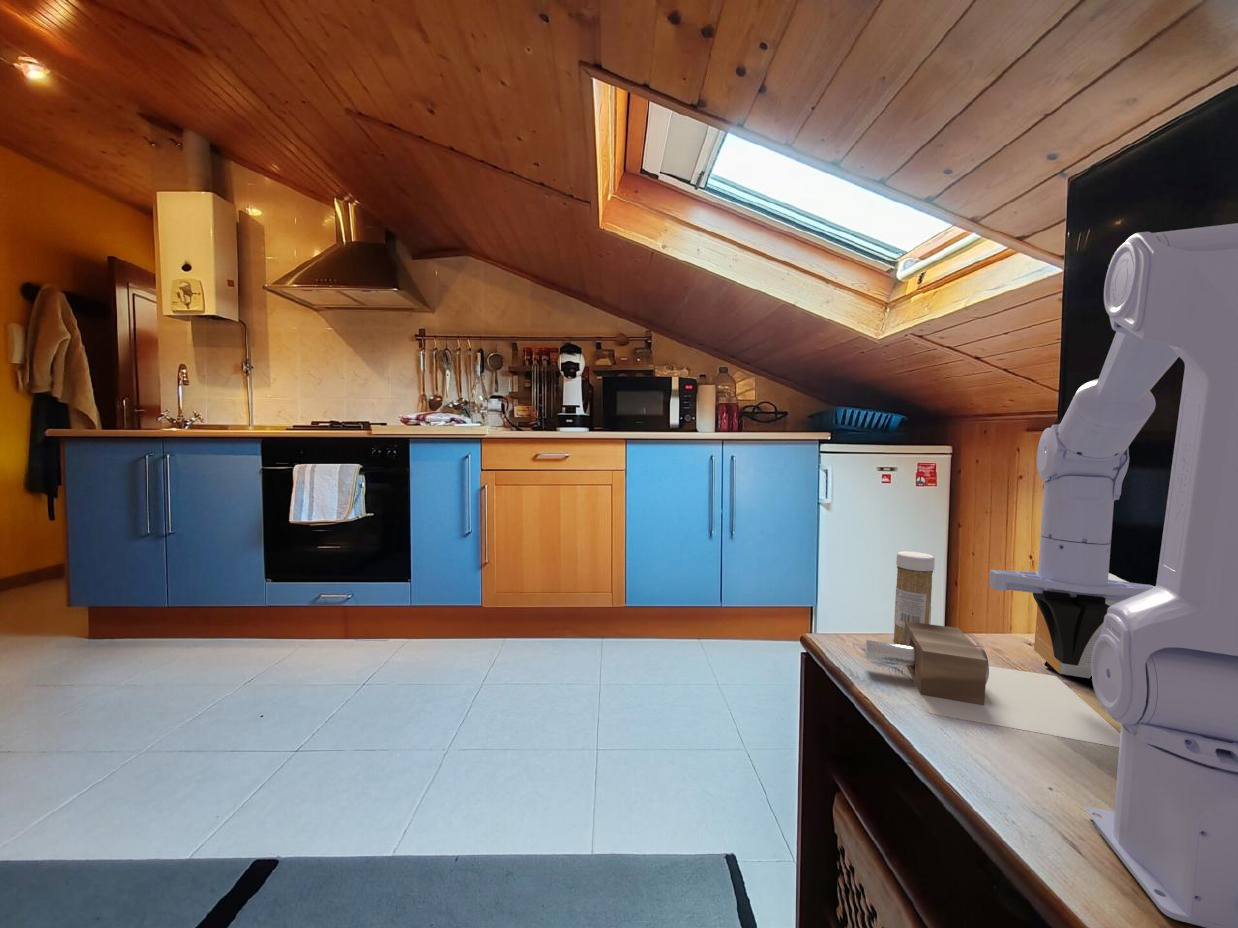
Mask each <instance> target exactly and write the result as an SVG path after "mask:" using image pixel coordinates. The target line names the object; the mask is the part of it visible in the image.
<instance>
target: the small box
mask: <svg viewBox="0 0 1238 928" xmlns="http://www.w3.org/2000/svg"><path fill="white" fill-rule="evenodd" d="M1108 580H1115V581H1122V582H1128V581H1127V580H1126V579H1122V578H1120V577H1118V576H1117V575H1114V574H1112V573H1110V572H1109V574H1108ZM1056 590H1059V589H1056ZM1116 603H1118V602H1116V601H1107V600H1105V604H1107V605H1109V606H1112V605H1114V604H1116ZM1036 605H1037V606H1036V619H1035V620H1036V621H1035V631H1034V633H1035V634H1034V647H1033V650H1034V652H1036V653H1037V654H1038V655H1040V657H1042V659H1044V660H1045V661H1046V662H1047V664H1049V665H1050V666H1051V668H1053V669H1054V670H1055V671H1056V672H1057V673H1058V674H1061V675H1065V676H1073V677H1077V678H1078V677H1079V678H1086V679H1090V677H1091V676H1092V674H1091V657H1092V651H1093V647H1094V644H1095V642H1096V640H1097V639H1098V638H1099V636H1100V633H1101V630H1102V626H1103V623H1102V624H1101V626H1100V627H1099V628H1098V629H1097V630H1096V631H1095V633H1094V634H1093V635H1092V637H1091V638H1090V640H1089V642H1088V644H1087V645H1086V647H1085V649H1084V652H1083V654H1082V656H1081V659H1080V661H1079V664H1078V666H1076V665H1069V664H1063V663H1061V662H1060V661H1059V660H1057V659H1056V658H1055V657H1054V651H1053V646H1052V641H1051V637H1050V633H1049V630H1048V627H1047V624H1046V622H1045V619H1044V617H1043V615H1042V612H1041V610H1040V608H1039V606H1038V604H1037V603H1036Z"/></svg>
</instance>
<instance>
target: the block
mask: <svg viewBox="0 0 1238 928" xmlns="http://www.w3.org/2000/svg"><path fill="white" fill-rule="evenodd" d="M904 645H906V646H913V647H916V662H915V666H912V665H905V666H907V667H906V668H908V669H907V671H908V670H909V671H908V673H909V672H910V673H909V674H911V675H910V676H912V677H911V679H912V678H913V679H912V681H913V680H914V681H913V683H914V682H915V683H914V684H916V685H915V687H916V686H917V687H916V689H917V688H918V689H917V691H918V690H919V691H918V693H919V692H920V693H919V695H920V694H921V695H925V696H931V697H937V698H943V699H949V700H954V701H960V702H966V703H972V704H978V705H983V706H984V701H985V686H986V671H987V659H986V658H985V657H984V656H983V655H982V654H981V653H980V652H979V650H978V649H977V648H978V647H976V646H975V645H974V643H973V642H972V641H971V640H970V639H969V638H968V637H967V636H966V634H965V633H964V632H963V631H962V630H961V628H959V627H952V626H945V625H937V624H931V623H930V624H923V623H916V622H908V621H905V630H904ZM921 695H920V696H921Z"/></svg>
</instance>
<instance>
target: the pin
mask: <svg viewBox="0 0 1238 928" xmlns="http://www.w3.org/2000/svg"><path fill="white" fill-rule="evenodd" d="M976 648H977V649H978V650H979V652H980V653H981V654H982V655H983V656H984V657H985V658H986V659H987V671H986V683H987V681H988V677H989V666H990V665H989V659H988V655H987V653H986V651H985V649H984V648H981V647H976ZM864 649H865V650H864V653H865V654H864V655H865V658H866V659H869V660H874V661H880V662H887V663H894V664H900V665H905V664H906V665H912V666H915V662H916V647H913V646H906V645H899V644H895V643H893V642H885V641H879V640H878V641H877V640H869V639H866V640H865V646H864ZM906 665H905V666H906Z"/></svg>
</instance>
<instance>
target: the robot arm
mask: <svg viewBox="0 0 1238 928" xmlns="http://www.w3.org/2000/svg"><path fill="white" fill-rule="evenodd" d="M1103 304H1104V308H1105V311H1106V313H1107V315H1108V317H1109V321H1110V326H1111V329H1112V330H1113V331H1114V332H1115V334H1114V337H1113V339H1112V343H1111V345H1110V347H1109V350H1108V353H1107V356H1106V358H1105V361H1104V363H1103V366H1102V369H1101V372H1100V374H1099V377H1098V378H1096V379H1093V380H1090V381H1088V382H1085V383H1083V384H1082V385H1081V386H1080V387H1079V388H1078V389H1077V390H1076V392H1075V394H1074V395H1073V397H1072V400H1071V401H1070V404H1069V405H1068V408H1067V410H1066V412H1065V414H1064V416H1063V418H1062V420H1061V422H1060V423H1058V424H1052V425H1051V427H1047V428H1045V429H1044V430H1043V432H1042V433H1041V435H1040V439H1039V441H1038V442H1039V443H1038V446H1037V447H1038V448H1037V453H1036V462H1037V463H1036V464H1037V465H1036V466H1037V472H1038V477H1039V478H1040V479H1041V480H1042V481H1043V491H1042V494H1043V495H1042V506H1041V507H1042V509H1041V519H1040V520H1041V521H1040V535H1039V536H1040V537H1039V538H1040V539H1039V554H1038V555H1039V556H1038V570H1037V571H1024V570H1021V571H1019V570H999V569H990V570H989V584H988V585H989V587H991V588H992V589H994V590H995V591H1001V592H1006V591H1013V592H1025V593H1032V596H1033V598H1034V601H1035V602H1036V605H1037V604H1038V606H1039V608H1040V610H1041V612H1042V615H1043V617H1044V619H1045V622H1046V624H1047V627H1048V630H1049V633H1050V637H1051V641H1052V646H1053V651H1054V657H1055V658H1056V659H1057V660H1059V661H1060V662H1061V663H1063V664H1069V665H1076V666H1078V664H1079V661H1080V659H1081V656H1082V654H1083V652H1084V649H1085V647H1086V645H1087V644H1088V642H1089V640H1090V638H1091V637H1092V635H1093V634H1094V633H1095V631H1096V630H1097V629H1098V628H1099V627H1100V626H1101V624H1102V623H1103V626H1102V630H1101V633H1100V636H1099V638H1098V639H1097V640H1096V642H1095V644H1094V647H1093V651H1092V657H1091V674H1092V679H1091V681H1092V686H1093V691H1094V693H1095V696H1096V699H1097V701H1098V703H1099V705H1100V706H1101V708H1102V709H1103V710H1104V711H1105V712H1106V713H1107V714H1108V715H1109V717H1110V718H1112V720H1113V721H1115V722H1116V723H1120V732H1119V733H1120V744H1119V748H1118V758H1117V761H1118V762H1117V771H1116V774H1117V775H1116V783H1115V797H1114V809H1113V811H1111V810H1107V809H1103V808H1102V809H1101V808H1097V807H1092V806H1085V807H1084V810H1085V811H1086V812H1087V814H1088V815H1089V817H1090V818H1089V821H1090V822H1091V823H1092V825H1093V826H1094V827H1095V828H1096V830H1097V831H1098V833H1099V834H1100V835H1101V836H1102V837H1103V838H1104V840H1105V841H1106V842H1107V844H1108V845H1109V847H1110V848H1111V849H1112V851H1113V852H1114V853H1115V854H1116V855H1117V856H1118V858H1119V859H1120V860H1121V862H1122V863H1123V864H1124V865H1125V867H1126V868H1127V869H1128V871H1129V872H1130V873H1131V874H1132V876H1133V877H1134V878H1135V880H1136V881H1137V883H1139V885H1140V886H1141V888H1143V890H1144V891H1145V893H1146V894H1147V895H1148V896H1149V898H1150V899H1151V900H1152V901H1153V903H1154V904H1155V905H1156V907H1157V908H1158V909H1159V911H1161V913H1163V915H1165V916H1167V917H1169V918H1171V919H1173V920H1176V921H1179V922H1183V923H1187V924H1191V925H1195V926H1199V927H1201V928H1238V222H1237V223H1229V224H1221V225H1211V226H1203V227H1194V228H1193V227H1192V228H1186V229H1185V228H1183V229H1176V230H1168V231H1160V232H1159V231H1158V232H1150V231H1143V232H1142V231H1141V232H1136V233H1133V234H1132V235H1131V236H1129V237H1128V238H1127V239H1126V240H1125V242H1123V243H1122V244H1121V245H1120V246H1118V248H1117V249H1116V251H1115V252H1114V254H1113V255H1112V257H1111V260H1110V263H1109V264H1108V269H1107V272H1106V276H1105V280H1104V287H1103ZM1178 358H1180V359H1181V360H1182V362H1183V363H1184V370H1183V371H1184V373H1183V380H1182V386H1181V394H1180V403H1179V410H1178V419H1177V425H1176V432H1175V440H1174V441H1175V442H1174V448H1173V455H1172V463H1171V468H1170V469H1171V470H1170V478H1169V484H1168V485H1169V486H1168V492H1167V493H1168V494H1167V499H1166V507H1165V508H1166V509H1165V515H1164V522H1163V523H1164V524H1163V531H1162V536H1161V538H1162V539H1161V546H1160V553H1159V562H1158V567H1157V568H1158V569H1157V577H1156V583H1155V586H1154V585H1151V584H1145V583H1144V584H1143V583H1136V582H1129V581H1127V582H1122V581H1115V580H1108V574H1109V573H1110V561H1111V560H1110V559H1111V556H1110V555H1111V545H1112V532H1113V519H1114V518H1113V517H1114V505H1115V504H1114V503H1115V501H1117V500H1118V501H1119V500H1120V496H1121V495H1122V485H1123V482H1124V478H1125V476H1126V474H1127V472H1128V469H1129V465H1130V464H1129V463H1130V453H1129V451H1130V450H1129V447H1130V445H1131V443H1132V442H1133V441H1134V440H1135V438H1136V437H1137V435H1138V434H1139V433H1140V431H1141V429H1142V428H1143V427H1144V426H1145V424H1146V423H1147V421H1148V420H1149V418H1150V417H1151V416H1152V414H1153V413H1154V412H1155V409H1156V403H1157V402H1156V398H1155V396H1154V394H1153V393H1152V392H1151V390H1152V389H1153V388H1154V386H1155V385H1156V384H1157V383H1158V382H1159V380H1160V379H1161V378H1162V377H1163V376H1164V374H1165V373H1167V371H1168V370H1169V369H1170V368H1171V367H1172V366H1173V364H1175V362H1176V361H1177V360H1178ZM1056 589H1059V590H1056ZM1105 600H1107V601H1116V602H1118V603H1116V604H1114V605H1112V606H1109V605H1107V604H1105ZM1094 814H1095V815H1098V816H1100V817H1097V816H1095V815H1094Z"/></svg>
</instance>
